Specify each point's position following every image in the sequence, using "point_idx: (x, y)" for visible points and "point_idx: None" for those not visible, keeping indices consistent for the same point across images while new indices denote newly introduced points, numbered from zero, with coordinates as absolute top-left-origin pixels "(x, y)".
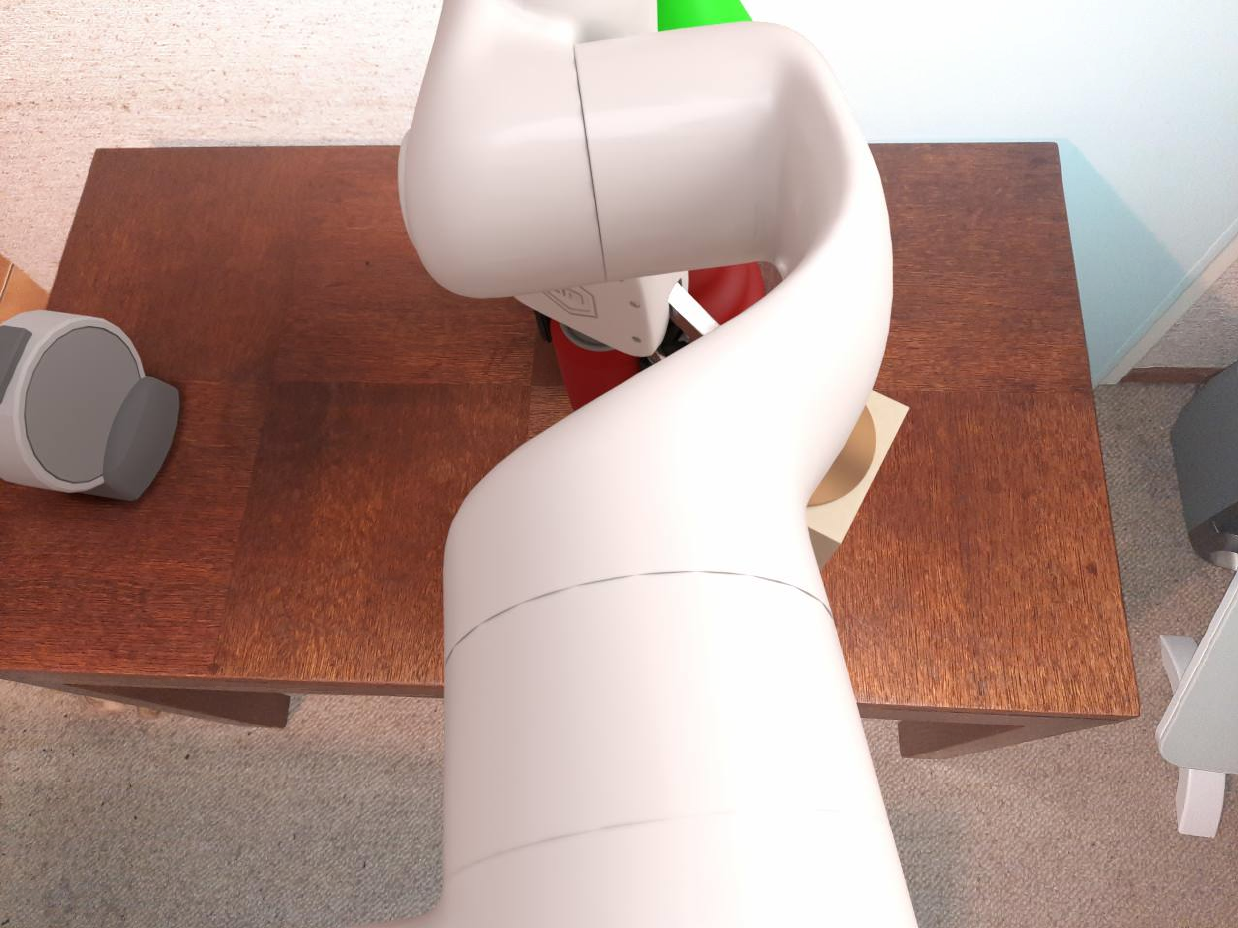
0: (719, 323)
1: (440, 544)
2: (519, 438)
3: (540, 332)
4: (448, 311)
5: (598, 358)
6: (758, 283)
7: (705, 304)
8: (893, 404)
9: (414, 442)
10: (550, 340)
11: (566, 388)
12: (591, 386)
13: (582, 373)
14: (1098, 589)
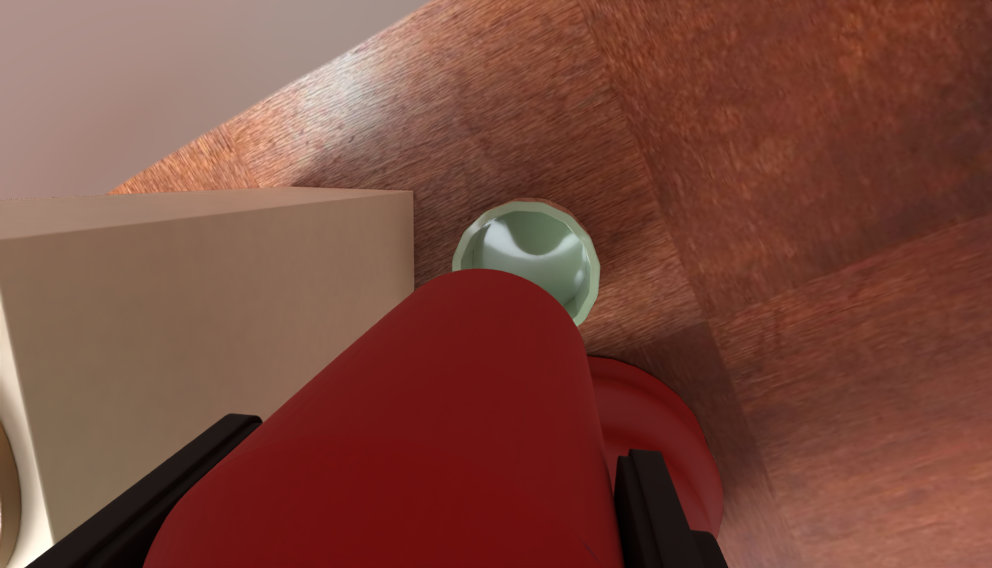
0: None
1: (724, 57)
2: (687, 247)
3: (671, 487)
4: (874, 372)
5: (223, 532)
6: None
7: None
8: None
9: (835, 175)
10: (626, 461)
11: (544, 322)
12: (375, 359)
13: (368, 402)
14: None
